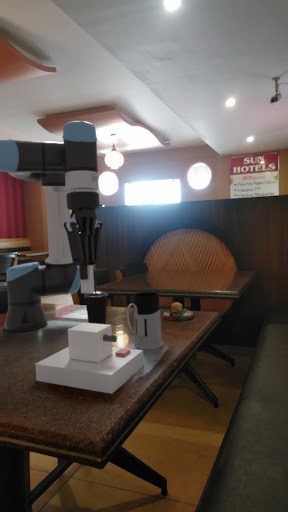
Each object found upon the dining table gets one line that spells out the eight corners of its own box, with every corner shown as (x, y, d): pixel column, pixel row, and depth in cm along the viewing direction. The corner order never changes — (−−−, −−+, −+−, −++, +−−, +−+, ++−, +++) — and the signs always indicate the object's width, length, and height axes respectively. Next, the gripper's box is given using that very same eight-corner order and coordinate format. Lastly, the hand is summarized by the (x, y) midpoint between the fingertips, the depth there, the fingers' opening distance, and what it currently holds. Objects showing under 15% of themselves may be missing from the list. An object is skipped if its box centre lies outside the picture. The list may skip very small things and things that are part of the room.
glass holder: (168, 342, 106) (166, 292, 105) (142, 357, 94) (140, 301, 93) (144, 338, 110) (142, 291, 109) (116, 352, 99) (113, 299, 98)
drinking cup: (105, 339, 111) (102, 276, 109) (82, 339, 112) (79, 276, 111) (112, 332, 118) (109, 273, 117) (91, 332, 120) (87, 273, 119)
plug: (70, 376, 83) (67, 329, 83) (85, 366, 89) (83, 322, 89) (110, 382, 79) (107, 333, 78) (123, 371, 85) (121, 325, 84)
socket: (36, 380, 82) (35, 360, 81) (76, 357, 96) (75, 339, 96) (112, 393, 73) (110, 371, 73) (143, 365, 88) (142, 347, 87)
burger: (199, 316, 137) (199, 297, 136) (181, 323, 128) (180, 302, 128) (175, 312, 145) (174, 294, 144) (156, 318, 136) (155, 299, 136)
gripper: (80, 188, 74) (85, 298, 76) (110, 193, 86) (114, 288, 88) (51, 191, 77) (57, 297, 79) (84, 195, 89) (89, 287, 91)
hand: (87, 292), depth 84 cm, fingers closed
